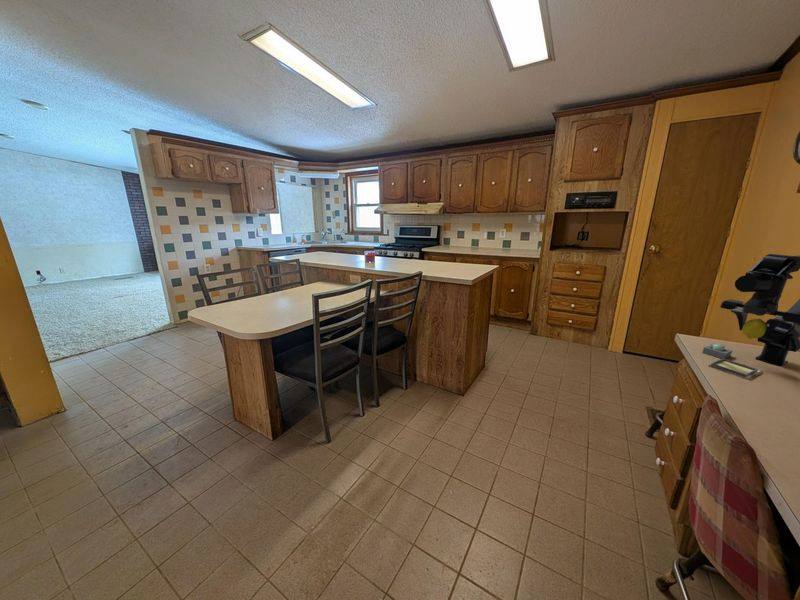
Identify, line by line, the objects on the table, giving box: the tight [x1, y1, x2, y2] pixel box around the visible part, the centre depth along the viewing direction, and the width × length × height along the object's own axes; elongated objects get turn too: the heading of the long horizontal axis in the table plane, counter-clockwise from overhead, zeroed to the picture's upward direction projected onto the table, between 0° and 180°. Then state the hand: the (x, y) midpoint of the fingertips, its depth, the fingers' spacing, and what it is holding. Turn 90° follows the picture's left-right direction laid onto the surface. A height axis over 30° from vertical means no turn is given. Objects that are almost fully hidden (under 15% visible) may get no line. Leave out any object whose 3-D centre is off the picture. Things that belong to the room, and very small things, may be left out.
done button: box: [712, 343, 726, 352], centre depth 113 cm, size 3×3×3 cm
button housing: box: [702, 344, 733, 359], centre depth 113 cm, size 6×6×2 cm
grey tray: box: [708, 358, 764, 381], centre depth 102 cm, size 11×10×1 cm
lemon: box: [741, 318, 768, 340], centre depth 103 cm, size 6×6×8 cm
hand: (752, 333), depth 104 cm, fingers closed on lemon, 6 cm apart
